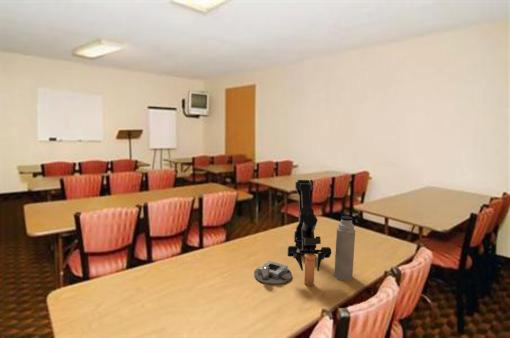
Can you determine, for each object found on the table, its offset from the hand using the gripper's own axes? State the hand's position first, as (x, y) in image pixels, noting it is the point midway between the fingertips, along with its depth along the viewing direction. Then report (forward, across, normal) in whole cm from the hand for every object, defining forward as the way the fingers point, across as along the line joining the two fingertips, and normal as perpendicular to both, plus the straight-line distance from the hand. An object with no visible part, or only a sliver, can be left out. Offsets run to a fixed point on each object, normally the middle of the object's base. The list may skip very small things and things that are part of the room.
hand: (310, 270), depth 136 cm
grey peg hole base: (-1, -16, +10) cm, 19 cm away
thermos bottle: (-2, +16, +12) cm, 20 cm away
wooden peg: (+4, 0, +6) cm, 7 cm away
